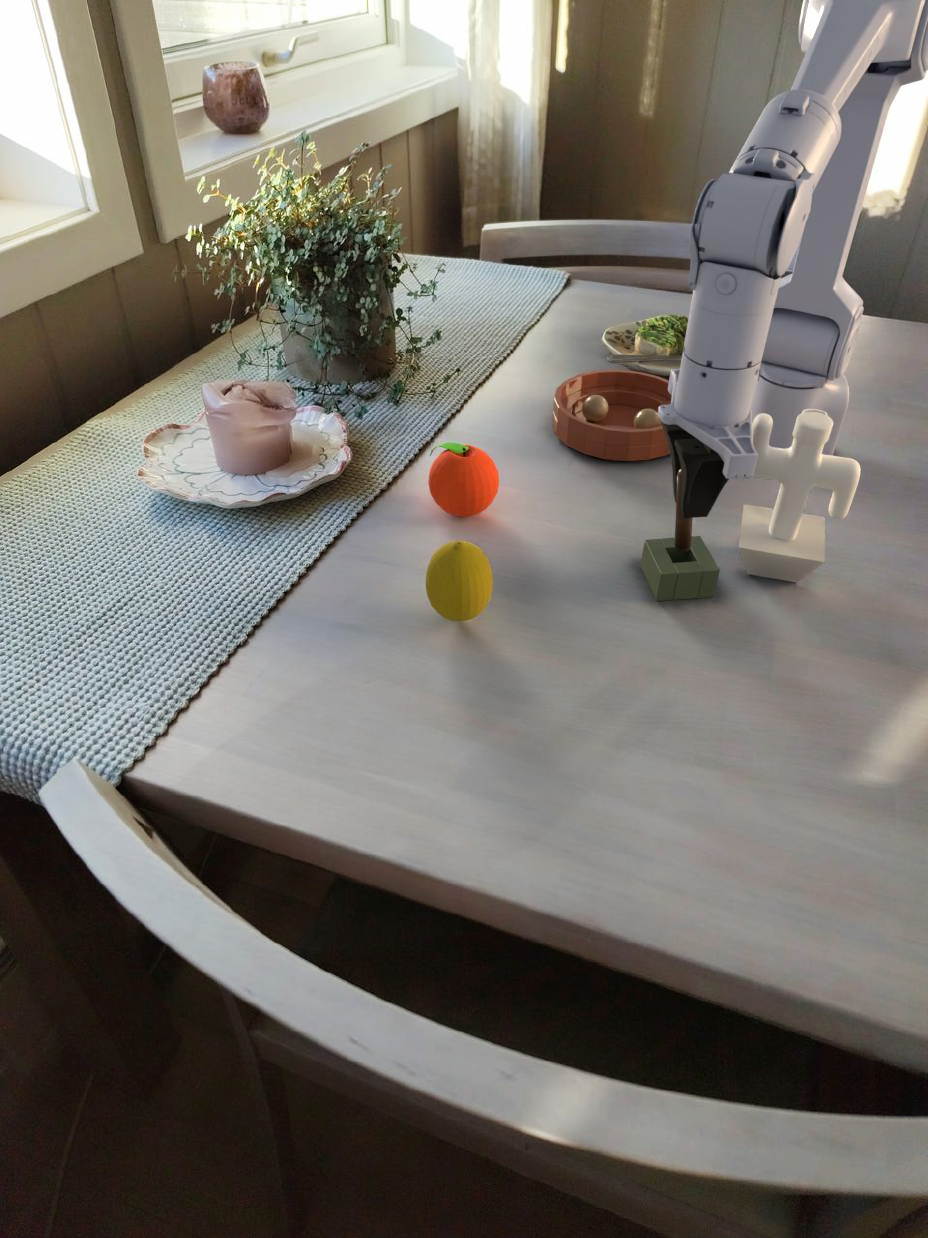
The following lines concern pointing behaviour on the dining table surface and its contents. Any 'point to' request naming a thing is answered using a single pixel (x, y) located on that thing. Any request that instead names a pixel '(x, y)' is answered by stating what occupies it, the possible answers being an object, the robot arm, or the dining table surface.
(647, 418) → the bead
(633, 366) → the salad plate
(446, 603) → the lemon
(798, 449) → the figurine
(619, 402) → the bowl
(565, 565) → the dining table surface
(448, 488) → the clementine
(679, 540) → the stick
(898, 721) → the dining table surface
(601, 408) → the bead
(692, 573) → the holder
